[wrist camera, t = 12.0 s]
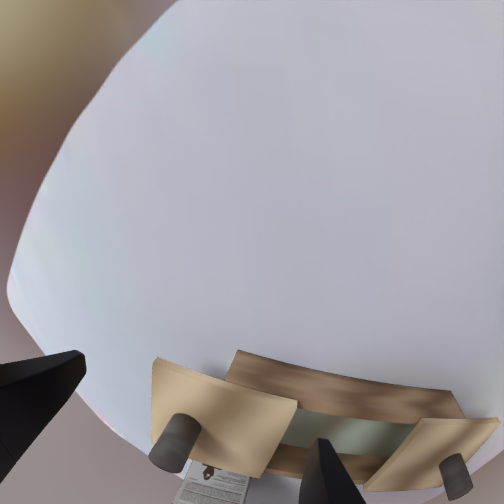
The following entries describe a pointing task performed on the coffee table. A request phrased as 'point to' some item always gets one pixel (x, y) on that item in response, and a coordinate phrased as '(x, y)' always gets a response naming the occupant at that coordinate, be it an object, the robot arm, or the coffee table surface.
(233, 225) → the coffee table surface
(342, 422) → the walnut box
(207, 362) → the coffee table surface
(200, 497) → the coffee box
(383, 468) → the lid
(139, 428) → the coffee table surface
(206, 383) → the lid
